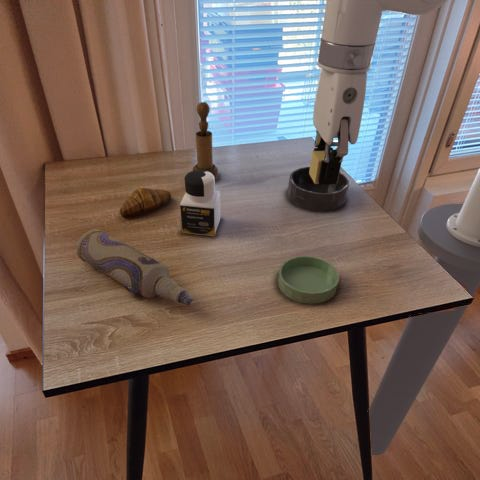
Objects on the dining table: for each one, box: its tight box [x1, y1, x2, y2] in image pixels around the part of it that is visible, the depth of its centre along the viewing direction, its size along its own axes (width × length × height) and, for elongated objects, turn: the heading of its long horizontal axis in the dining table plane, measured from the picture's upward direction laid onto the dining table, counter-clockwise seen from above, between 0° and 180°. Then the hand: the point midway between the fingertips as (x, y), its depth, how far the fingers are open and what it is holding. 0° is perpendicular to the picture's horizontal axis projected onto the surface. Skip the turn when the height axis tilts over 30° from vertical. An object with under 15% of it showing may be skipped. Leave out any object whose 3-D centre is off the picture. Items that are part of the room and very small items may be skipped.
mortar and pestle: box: [192, 101, 219, 182], centre depth 102 cm, size 7×6×18 cm
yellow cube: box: [309, 150, 343, 184], centre depth 71 cm, size 4×4×4 cm
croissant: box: [119, 187, 172, 218], centre depth 95 cm, size 14×7×5 cm, turn 134°
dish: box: [277, 255, 340, 305], centre depth 78 cm, size 11×11×2 cm
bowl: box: [287, 166, 350, 213], centre depth 101 cm, size 14×14×4 cm
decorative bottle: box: [75, 228, 194, 306], centre depth 75 cm, size 26×8×7 cm, turn 52°
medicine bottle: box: [179, 170, 221, 237], centre depth 87 cm, size 7×7×12 cm
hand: (323, 176), depth 72 cm, fingers closed on yellow cube, 4 cm apart
